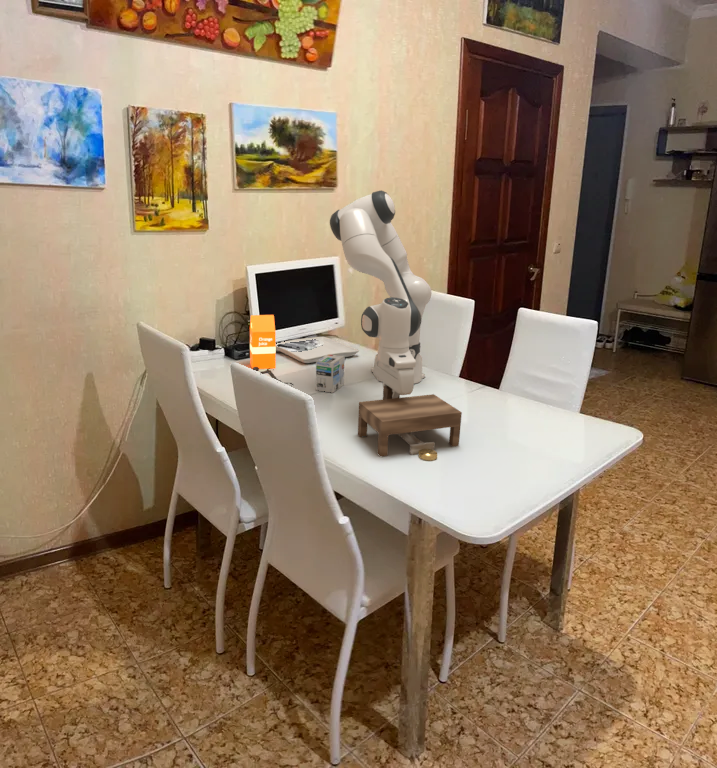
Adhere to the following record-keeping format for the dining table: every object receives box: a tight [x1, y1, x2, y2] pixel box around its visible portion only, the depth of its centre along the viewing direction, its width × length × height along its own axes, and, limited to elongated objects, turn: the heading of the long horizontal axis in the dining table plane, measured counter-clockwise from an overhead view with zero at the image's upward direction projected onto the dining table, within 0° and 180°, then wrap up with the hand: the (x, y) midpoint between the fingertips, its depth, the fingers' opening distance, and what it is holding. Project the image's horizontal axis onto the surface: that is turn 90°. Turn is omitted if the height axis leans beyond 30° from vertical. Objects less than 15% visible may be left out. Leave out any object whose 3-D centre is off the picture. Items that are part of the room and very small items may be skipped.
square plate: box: [276, 336, 360, 364], centre depth 265 cm, size 27×27×4 cm
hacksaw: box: [252, 367, 294, 386], centre depth 233 cm, size 24×10×2 cm, turn 20°
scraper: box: [382, 386, 435, 455], centre depth 181 cm, size 24×7×12 cm, turn 22°
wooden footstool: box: [357, 393, 463, 457], centre depth 179 cm, size 16×24×10 cm, turn 112°
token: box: [417, 449, 438, 462], centre depth 170 cm, size 5×5×2 cm
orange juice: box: [249, 314, 277, 370], centre depth 243 cm, size 8×9×20 cm
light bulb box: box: [315, 354, 346, 393], centre depth 222 cm, size 11×7×11 cm, turn 160°
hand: (391, 399), depth 189 cm, fingers closed on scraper, 3 cm apart
